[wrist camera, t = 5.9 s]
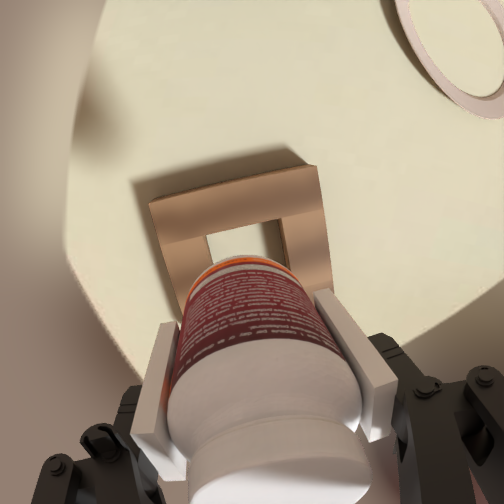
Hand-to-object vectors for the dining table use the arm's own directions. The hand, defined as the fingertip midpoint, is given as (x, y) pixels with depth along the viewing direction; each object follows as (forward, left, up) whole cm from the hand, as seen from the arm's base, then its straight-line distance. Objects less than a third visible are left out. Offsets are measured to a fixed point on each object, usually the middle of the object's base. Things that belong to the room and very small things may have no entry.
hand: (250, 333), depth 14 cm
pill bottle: (0, 0, -3) cm, 3 cm away
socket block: (+3, +1, -20) cm, 20 cm away
